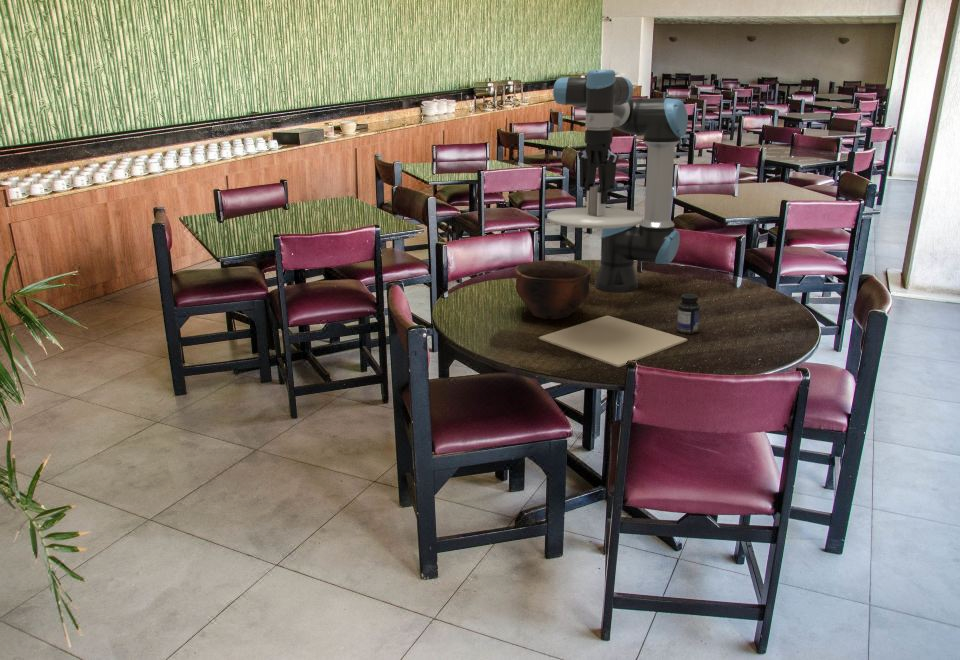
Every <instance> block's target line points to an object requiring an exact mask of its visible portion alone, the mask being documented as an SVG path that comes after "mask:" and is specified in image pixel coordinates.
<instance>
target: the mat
mask: <svg viewBox="0 0 960 660" xmlns="http://www.w3.org/2000/svg"><path fill="white" fill-rule="evenodd" d="M538 339H539V340H541V341H544V342H547V343H549V344H552V345H555V346H558V347H561V348H564V349H566V350H569V351H571V352H575V353H577V354H580V355H583V356H586V357H587V358H588V357H589V358H592V359H594V360H597V361H600V362H602V363H605V364H609V365H611V366H614V367H616V368H620V367H623V366H626V365H627V364H626V363H627V361H628V360H635V361H634V362H636V361H638V360H641V359H644V358H647V357H649V356H651V355H654V354H657V353H659V352H661V351H662V352H663V351H665V350H668V349H669V348H673V347H675V346H677V345H680V344H683V343H685V342H688V338H684V337H682V336H680V335H679V336H677V335H675V334H671V333H670V332H669V333H668V332H664V331H661V330H658V329H655V328H651V327H648V326H645V325H641V324H638V323H634V322H631V321H627V320H625V319H621V318H617V317H615V316H610V315H605V316H601V317H598V318H595V319H591V320H589V321H586V322H582V323H580V324H576V325H572V326H570V327H565V328H562V329H560V330H557V331H554V332H550V333H547V334H544V335H541V336H538Z"/></svg>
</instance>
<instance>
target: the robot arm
mask: <svg viewBox="0 0 960 660" xmlns="http://www.w3.org/2000/svg"><path fill="white" fill-rule="evenodd" d="M552 95H553V96H552V97H553V99H554V102H555V103H556V104H558V105H562V106H563V105H564V106H567V105H570V106H574V107H575V108H578V109H580V110H582V111H584V112H585V125H584V126H585V128H586V129H585V131H584V143H585V144H586V146H585V149H584V150H582V151H578V152H577V157H578V160H579V187H580V188H583V189H584V191H585V193H584V194H585V196H584V197H585V202H586V214H589V199H590V186H595V181H596V174H597V172H598V183H599V184H598V186H600V191H598V194H597V216H602V215H605V210H606V208H607V206H606V205H607V204H608V198H609V197H608V196H609V195H608V194H609V192H610V191H614V190H615V183H616V182H615V181H616V180H615V179H616V172H617V163H618V161H619V157H620V155H619V154H615V153H613V152H612V148H611V144H613V134H614V132H613V129H616V130H618V131H619V132H620V131H621V132H623V133H626V134H630V135H635V136H643V142H644V144H645V145H646V146H647V157H646V158H647V159H646V175H645V177H646V181H645V197H644V198H645V200H644V215H643V216H644V218H643V222H642V223H640V224H638V225H639V226H637V225H634V226H629V227H620V228H601V236H600V239H601V240H600V242H601V243H600V265H599V269H598V271H597V275H596V277H595V280H594V287H595V288H596V289H597V290H600V291H603V292H604V291H605V292H612V293H626V292H632V291H635V290H637V289H638V288H639V287H638V285H639V281H638V278H637V272H636V270H635V261H637V262H643V263H651V264H656V265H658V264H659V265H660V264H663V265H667V264H670V263H671V262H672V261H673V260H674V258H675V257H676V255H677V253H678V250H679V246H680V241H681V236H680V231H679V230H677V229H675V223H674V222H673V220H672V219H671V212H672V198H673V197H672V193H673V182H674V181H673V178H674V166H675V165H674V163H675V161H674V160H675V150H676V149H675V147H676V146H677V145H678V144H679V143H680V142H681V138H683V136H685V135H686V133H687V130H688V129H687V128H688V122H689V121H688V112H687V111H688V110H687V109H686V106H685V103H684V102H683V101H682V100H681V99H679V98H669V97H666V98H665V97H664V98H662V97H661V98H659V97H658V98H654V97H653V98H641V97H639V98H633V95H634V86H633V83H632V82H631V80H630V79H628V78H627V77H624V76H616V72H615V71H614V70H613V69H591V70H589V71H588V72H587V75H586V77H569V76H567V77H559V78H557V79H556V81H554V84H553V89H552ZM612 128H613V129H612Z"/></svg>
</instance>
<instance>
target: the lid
mask: <svg viewBox="0 0 960 660" xmlns="http://www.w3.org/2000/svg"><path fill="white" fill-rule="evenodd" d="M598 191H600V186H599V185H594V186H590V199H589V214H586V207H584V206H583V207H569V208H568V207H567V208H561V209H557V210H556V209H555V210H553V211H549V212H548V213H547V214H546V215H547V216H546V218H547V221H548V222H550V223H551V224H554V225H558V226H564V227H567V228H568V227H569V228H570V227H571V228H578V229H579V228H581V229H602V228H620V227H629V226H634V225H636V226H637V225H639V224H640V223H642V222H643V220H644V215H643V214H642V213H641V212H638V211H634V210H630V209H623V208H613V207H606V210H605V215H602V216H597V194H598Z"/></svg>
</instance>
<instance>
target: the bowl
mask: <svg viewBox="0 0 960 660" xmlns="http://www.w3.org/2000/svg"><path fill="white" fill-rule="evenodd" d="M514 272H515V274H516V278H515V279H516V280H515V289H516V293H517V295H518V296H519V298H520V299H521V301H523V303H524V304H525V306H526V307H527V308H528V310H529V311H530V312H531V314H532V315H533V316H534V317H536V318H539V319H545V320H548V319H549V320H550V319H551V320H559V319H561V320H562V319H564V318H568V317H569V316H571V315H572V314H573V312H574V311H575V310H576V309H578V308H579V307H580V305H581V304H583V303H584V302H585V300H586V299H587V298H588V297H589V295H590V281H591V275H592V273H593V271H592V269H591V267H588V266H586V265H583V264H580V263H576V262H572V261H564V260H537V261H529V262H523V263H520V264H518V265H516V266H515V267H514Z"/></svg>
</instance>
